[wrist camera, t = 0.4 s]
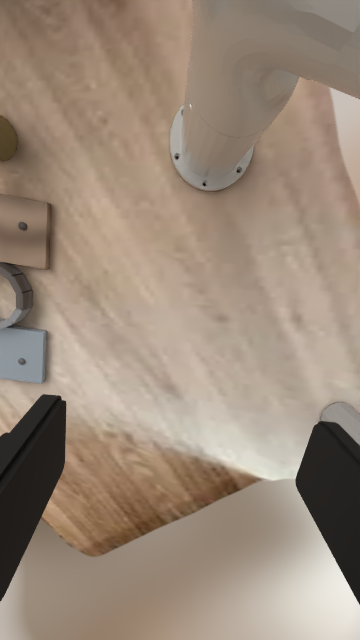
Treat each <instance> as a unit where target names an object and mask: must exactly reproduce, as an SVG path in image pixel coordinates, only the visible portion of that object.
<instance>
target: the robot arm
mask: <svg viewBox="0 0 360 640" xmlns="http://www.w3.org/2000/svg"><path fill="white" fill-rule="evenodd" d="M192 8H193V26H192V41H191V51H190V60H189V68H188V76H187V85H186V93H185V102H184V104H183V105H182V106H181V107H180V109H179V111H178V112H177V114H176V115H175V118H174V120H173V123H172V126H171V131H170V139H169V145H170V154H171V159H172V161H173V164H174V167H175V168H176V170H177V172H178V174H179V175H180V176H181V177H182V178H183V180H184V181H186V182H187V183H188V184H189V185H191V186H193V187H195V188H197V189H200V190H204V191H217V190H221V189H224V188H226V187H228V186H230V185H231V184H233V183H234V182H235V181H236V180H238V179H239V178H240V177H241V175H242V174H243V173H244V172H245V170H246V168H247V167H248V165H249V163H250V160H251V158H252V154H253V150H254V144H255V142H256V141H257V140H258V139H259V138H260V136H261V135H262V134H263V133H264V132H265V130H266V129H267V128H268V127H269V126H270V125H271V123H272V122H273V121H274V120H275V118H276V117H277V116H278V115H279V113H280V112H281V111H282V110H283V108H284V107H285V105H286V104H287V102H288V101H289V99H290V97H291V95H292V93H293V91H294V89H295V87H296V84H297V82H298V79H299V76H300V77H302V78H305V79H307V80H313V81H316V82H318V83H321V84H323V85H326V86H328V87H331V88H333V89H336V90H338V91H341V92H343V93H346V94H348V95H351V96H353V97H355V98H358V99H360V0H192ZM182 115H183V116H182ZM176 157H178V158H179V159H178V160H176V159H175V158H176ZM237 170H239V173H237ZM203 183H205V184H206V186H203ZM65 434H66V401H63V400H62V399H61V396H56V395H46V394H44V395H42V396H41V397H40V398H39V399H38V400H37V401H36V402H35V404H34V405H33V406H32V407H31V408H30V410H29V411H28V412H27V413H26V414H25V415H24V417H23V418H22V419H21V420H20V421H19V422H18V424H17V425H16V426H15V427H14V428H13V430H12V431H11V432H10V433H5V434H3V435H2V436H0V601H1V600H2V598H3V597H4V595H5V593H6V591H7V589H8V587H9V584H10V582H11V580H12V578H13V576H14V574H15V572H16V570H17V567H18V565H19V563H20V561H21V558H22V556H23V554H24V552H25V550H26V548H27V546H28V544H29V542H30V540H31V538H32V535H33V533H34V531H35V529H36V527H37V525H38V522H39V520H40V518H41V516H42V514H43V512H44V510H45V508H46V506H47V503H48V501H49V499H50V497H51V495H52V493H53V491H54V488H55V486H56V484H57V482H58V480H59V478H60V476H61V473H62V471H63V468H64V463H65ZM296 487H297V489H298V491H299V493H300V495H301V497H302V499H303V500H304V502H305V504H306V506H307V508H308V510H309V512H310V514H311V515H312V517H313V519H314V521H315V522H316V525H317V527H318V528H319V530H320V532H321V534H322V536H323V538H324V540H325V541H326V543H327V545H328V547H329V549H330V550H331V552H332V554H333V556H334V558H335V560H336V562H337V564H338V566H339V567H340V569H341V571H342V573H343V575H344V577H345V578H346V580H347V582H348V584H349V586H350V588H351V590H352V591H353V593H354V595H355V597H356V599H357V601H358V602H359V604H360V445H359V444H358V443H357V442H356V441H355V440H354V439H353V438H352V437H351V436H350V435H349V434H348V433H347V432H346V431H345V430H344V429H343V428H342V427H341V426H340V425H339V424H338V423H336V422H328V421H320V422H318V424H317V425H315V426H314V428H313V430H312V433H311V436H310V439H309V442H308V445H307V448H306V450H305V453H304V456H303V459H302V462H301V465H300V468H299V470H298V473H297V476H296Z"/></svg>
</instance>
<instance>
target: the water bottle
mask: <svg viewBox="0 0 360 640" xmlns="http://www.w3.org/2000/svg"><path fill="white" fill-rule="evenodd" d="M321 421H328V422H336V423H338V424H339V425H340V426H341V427H342V428H343V429H344V430H345V431H346V432H347V433H348V434H349V435H350V436H351V437H352V438H353V439H354V440H355V441H356V442H357V443H358V444H359V445H360V413H358V412H357V411H356V410H355V409H354V408H353V407H351V406H350V405H348V404H347V403H334V404H332V405H329V406H328V407H327V408H326V409H325V410H324V411H323V412H322V416H321Z"/></svg>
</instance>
